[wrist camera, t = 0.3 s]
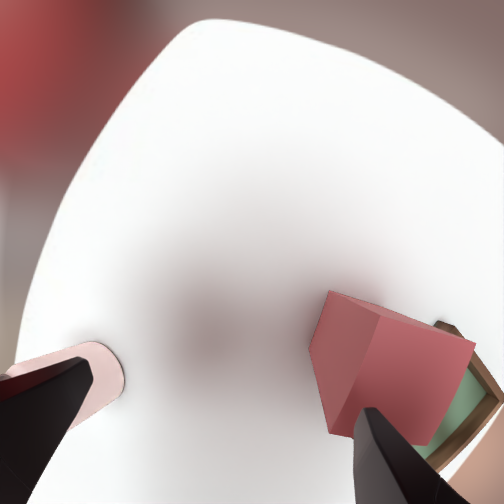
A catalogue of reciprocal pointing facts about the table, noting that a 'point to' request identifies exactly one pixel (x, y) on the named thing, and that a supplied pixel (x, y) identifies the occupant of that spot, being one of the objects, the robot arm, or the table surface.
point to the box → (463, 411)
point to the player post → (385, 367)
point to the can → (103, 370)
